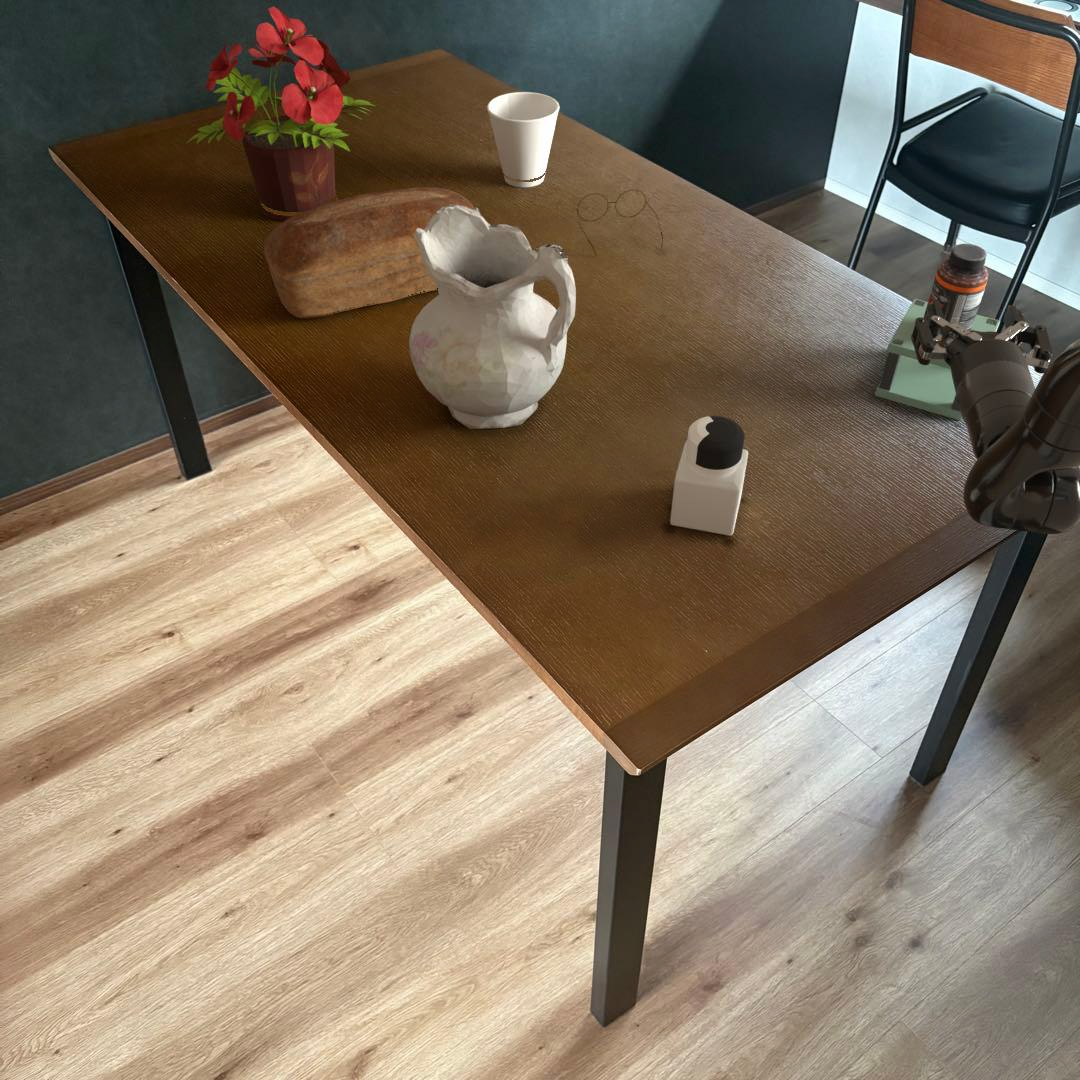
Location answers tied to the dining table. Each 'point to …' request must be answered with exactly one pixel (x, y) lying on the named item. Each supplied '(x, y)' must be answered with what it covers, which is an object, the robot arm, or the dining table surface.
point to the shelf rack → (921, 369)
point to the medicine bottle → (710, 476)
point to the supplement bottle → (960, 284)
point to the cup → (523, 134)
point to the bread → (354, 251)
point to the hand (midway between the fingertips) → (970, 309)
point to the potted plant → (285, 117)
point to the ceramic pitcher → (489, 319)
